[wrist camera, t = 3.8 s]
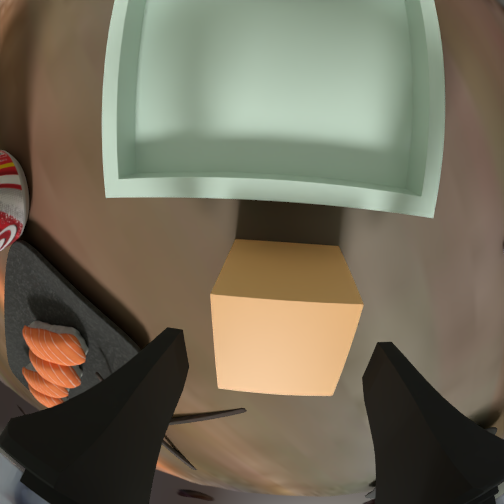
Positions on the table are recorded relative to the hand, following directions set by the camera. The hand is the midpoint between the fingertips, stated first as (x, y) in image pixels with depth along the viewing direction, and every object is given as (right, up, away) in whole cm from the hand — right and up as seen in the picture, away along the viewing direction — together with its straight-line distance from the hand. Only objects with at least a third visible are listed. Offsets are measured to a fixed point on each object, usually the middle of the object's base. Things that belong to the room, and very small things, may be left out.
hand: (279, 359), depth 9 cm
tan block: (+1, +2, +5) cm, 5 cm away
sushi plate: (-16, -12, +14) cm, 24 cm away
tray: (0, +12, 0) cm, 12 cm away
